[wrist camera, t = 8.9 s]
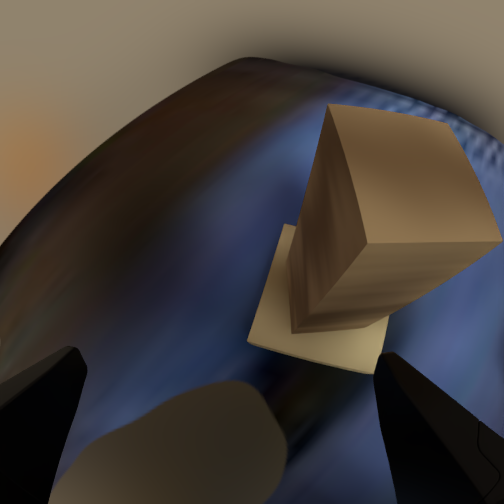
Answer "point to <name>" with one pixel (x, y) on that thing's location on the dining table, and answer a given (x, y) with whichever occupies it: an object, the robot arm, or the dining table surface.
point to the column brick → (382, 219)
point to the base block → (310, 344)
